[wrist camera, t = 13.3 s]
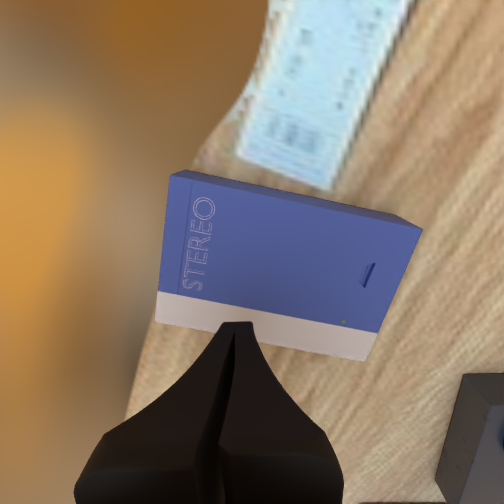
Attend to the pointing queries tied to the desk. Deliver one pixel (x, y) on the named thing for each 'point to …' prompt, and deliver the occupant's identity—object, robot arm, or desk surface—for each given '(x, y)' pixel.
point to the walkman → (279, 264)
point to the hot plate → (475, 444)
